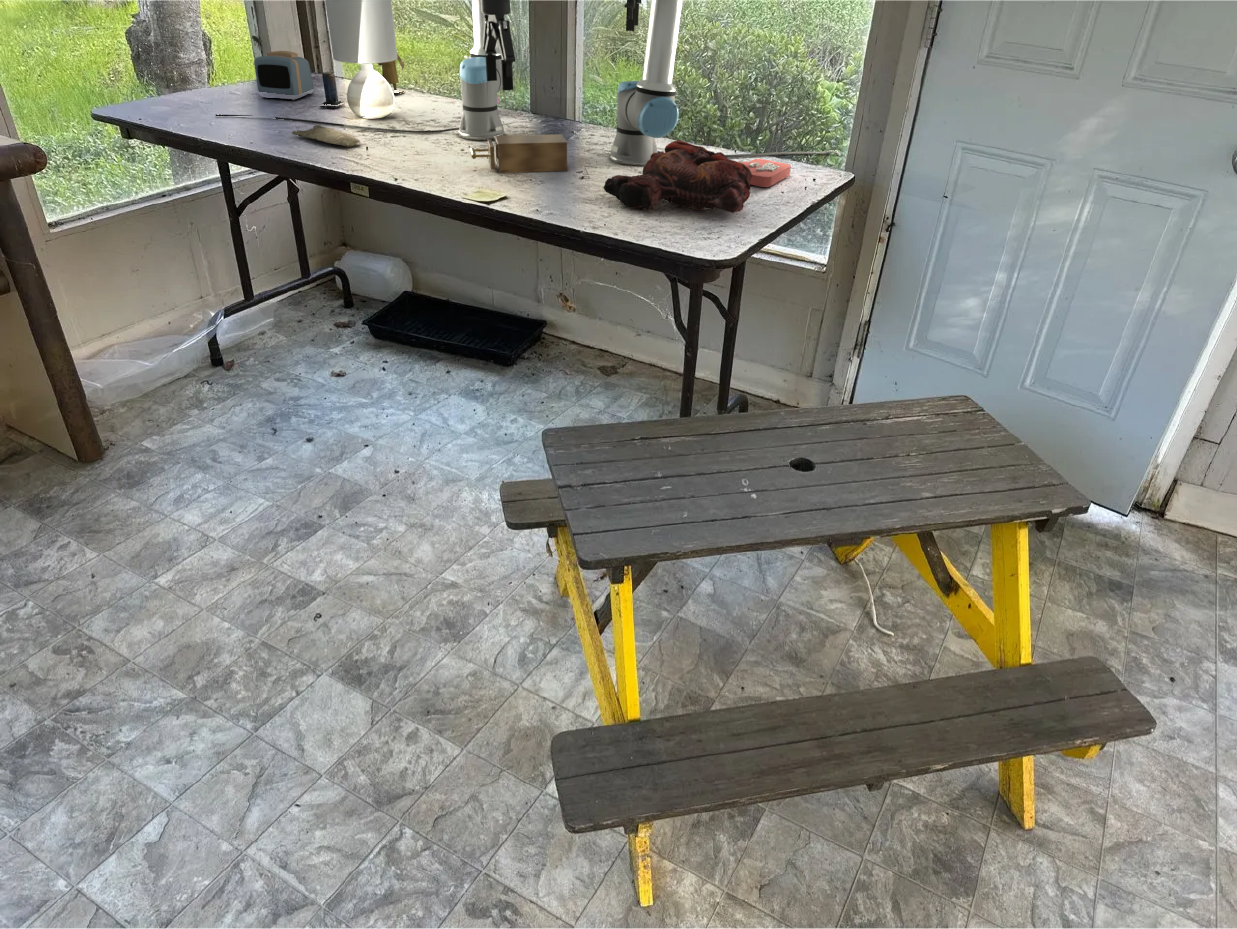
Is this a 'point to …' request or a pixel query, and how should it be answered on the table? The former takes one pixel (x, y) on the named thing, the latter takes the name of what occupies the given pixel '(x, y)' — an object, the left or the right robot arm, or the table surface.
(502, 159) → the cabinet
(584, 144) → the table surface
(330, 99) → the beverage can
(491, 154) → the drawer
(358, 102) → the lamp
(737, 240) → the table surface
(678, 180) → the sculpture
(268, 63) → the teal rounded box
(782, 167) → the plaque
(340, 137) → the stone tool
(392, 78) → the figurine
